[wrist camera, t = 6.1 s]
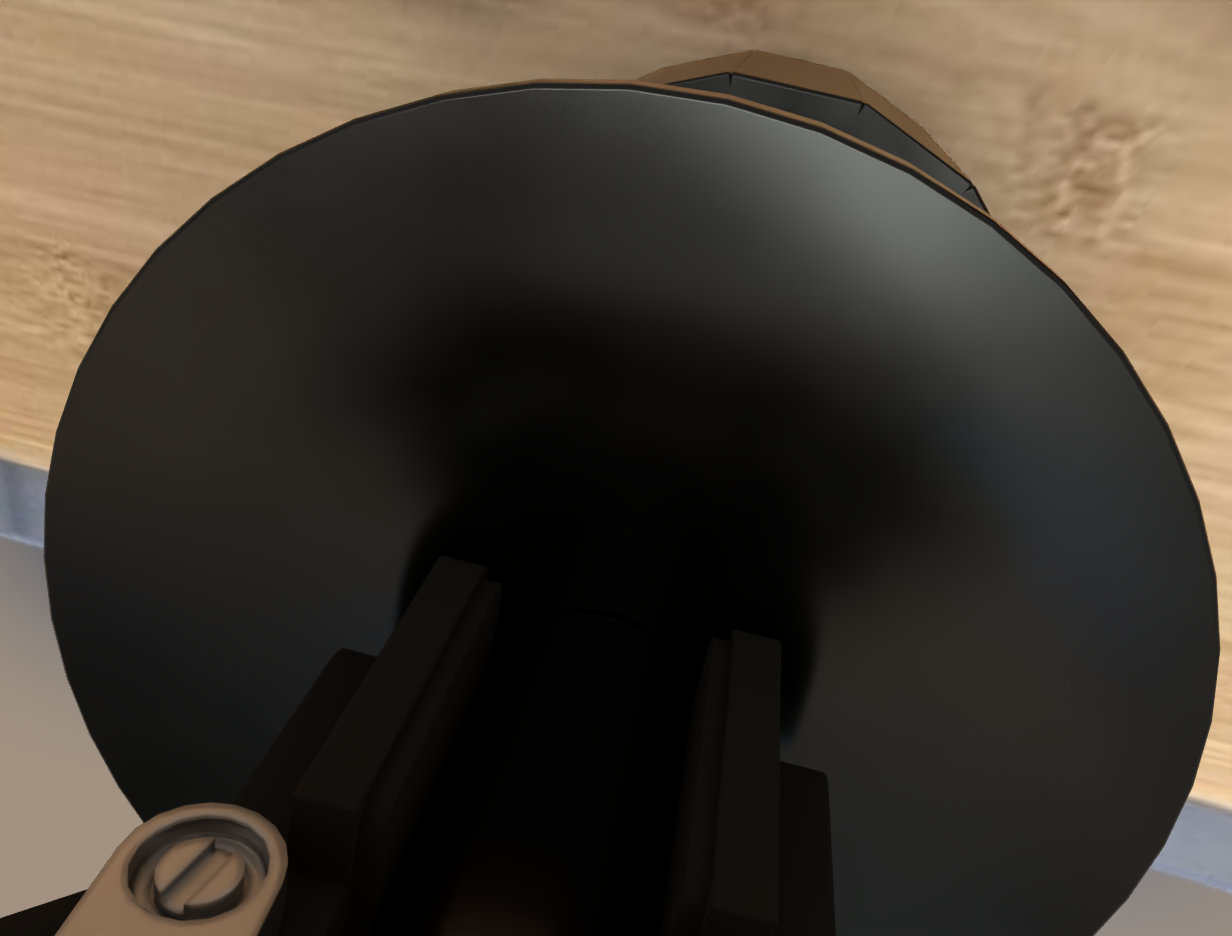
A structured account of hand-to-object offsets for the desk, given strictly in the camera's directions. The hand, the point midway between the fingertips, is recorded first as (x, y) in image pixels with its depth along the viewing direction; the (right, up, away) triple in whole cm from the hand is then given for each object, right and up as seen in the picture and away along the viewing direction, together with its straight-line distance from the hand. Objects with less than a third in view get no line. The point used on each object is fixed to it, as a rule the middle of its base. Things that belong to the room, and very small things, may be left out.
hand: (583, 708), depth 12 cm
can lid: (0, 0, +1) cm, 1 cm away
